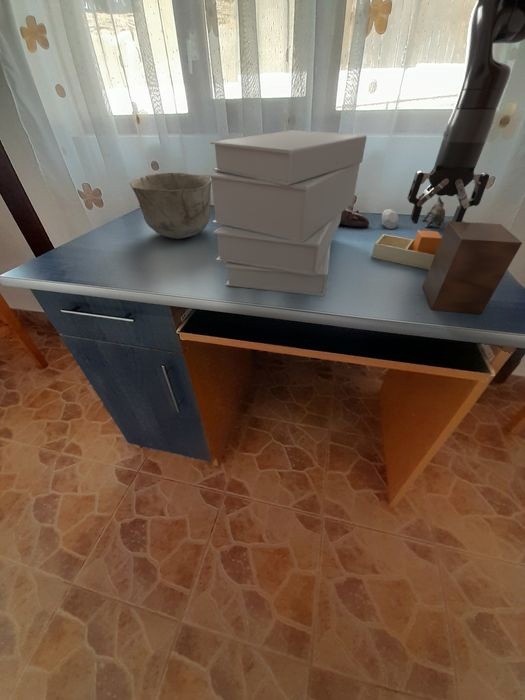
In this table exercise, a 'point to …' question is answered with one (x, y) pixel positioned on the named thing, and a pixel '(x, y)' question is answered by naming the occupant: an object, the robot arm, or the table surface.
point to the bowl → (174, 202)
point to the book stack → (282, 206)
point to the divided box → (401, 252)
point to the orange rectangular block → (427, 242)
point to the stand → (469, 266)
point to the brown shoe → (353, 219)
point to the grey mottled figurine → (436, 214)
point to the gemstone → (390, 218)
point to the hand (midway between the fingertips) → (434, 223)
